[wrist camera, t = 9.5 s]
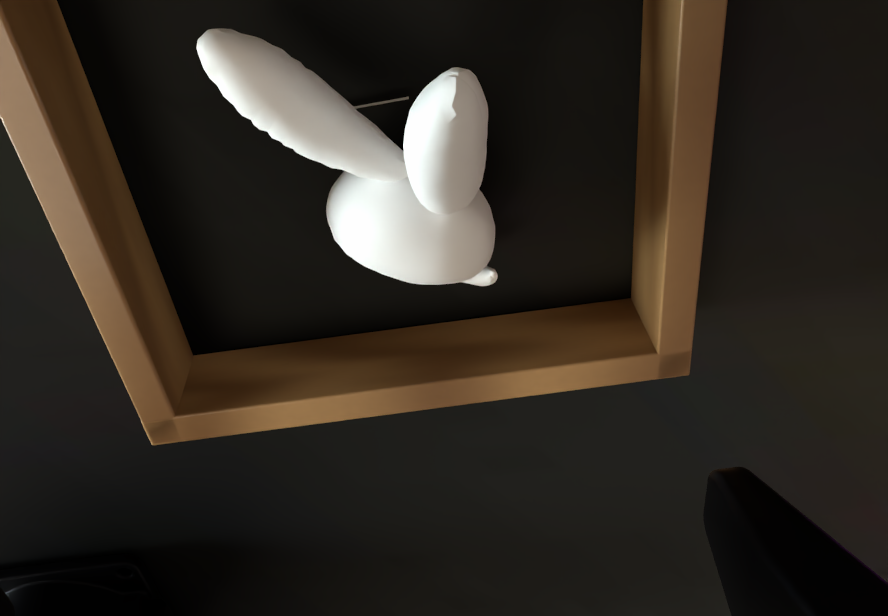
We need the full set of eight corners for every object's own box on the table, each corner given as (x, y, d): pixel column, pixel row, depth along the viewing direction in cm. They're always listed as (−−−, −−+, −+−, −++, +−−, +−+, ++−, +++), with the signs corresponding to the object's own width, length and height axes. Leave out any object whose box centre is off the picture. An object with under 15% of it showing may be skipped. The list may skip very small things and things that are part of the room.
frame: (172, 382, 22) (151, 446, 20) (-46, -141, 14) (-116, -125, 12) (660, 318, 22) (690, 375, 20) (699, -240, 14) (754, -240, 12)
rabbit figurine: (315, 290, 20) (134, 88, 14) (377, 170, 22) (240, -72, 15) (523, 354, 18) (434, 152, 11) (579, 216, 19) (530, -43, 12)
